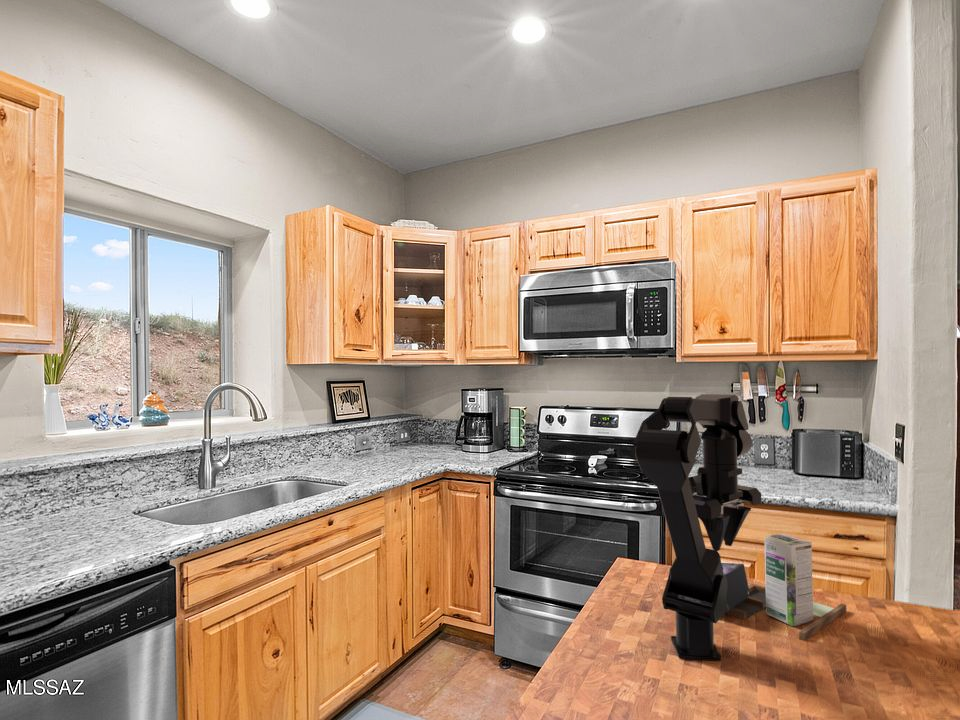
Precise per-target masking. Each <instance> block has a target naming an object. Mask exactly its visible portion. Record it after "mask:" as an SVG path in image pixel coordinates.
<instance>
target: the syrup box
mask: <svg viewBox="0 0 960 720" xmlns="http://www.w3.org/2000/svg"><path fill="white" fill-rule="evenodd" d="M763 542H764V573H765V576H764V577H765V578H764V579H765V586H764V587H766V608H765V615H766V616H769V617H771V618H774V619H776V620H779V621H780V622H782V623H784V624H787V625H788V626H790V627H797V626H799V625H803V624H806V623H810V622H814V615H813V602H814V593H813V592H814V591H813V590H814V587H813V585H814V584H813V583H814V582H813V547H812V541H811V540H805V539H802V538H798V537H795V536H792V535H789V534H786V533H776V534H771V535H768V536H765V537H764V541H763Z"/></svg>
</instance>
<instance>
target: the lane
mask: <svg viewBox="0 0 960 720" xmlns="http://www.w3.org/2000/svg"><path fill="white" fill-rule="evenodd" d="M748 587H749V592H750V596H749V597H748V598H746V599H745V600H744V601H742V602H741V603H739V604H738V605H736V606H735V607H734V608H732V609H731V610H729V611H726V610H725V614H728V615H730V616H734V617H736V618H739V619H742V620H746V619H748V618H749V617H751V616H752V615H755V614H757V613H758V612H761V611H762V610H763V609H766V608H765V607H766V586H761V585H758V584H755V583H751V584H748ZM756 612H757V613H756ZM846 612H847V604H845V603H840V604H838V605H836V606H835V607H831V606H828V605H825V604H822V603H818V602H815V601H813V617H814V616H815V617H817V618H818V617H819V618H818V619H816V620H813V621H812V622H811V623H810V624H809V625H807V626H805V627H804V628H802V629H800V630H799V632H798V633H799V634H798V635H799V640H802V641H804V642H805V641H806V640H808V639H809V638H811V637H812V636H814V635H816V633H818V632H819V631H820V630H822V629H823V628H825V627H826V626H827V625H829V624H830V623H832V622H833V621H835V620H836V619H838V618H839V617H840V616H842V615H843V614H845V613H846ZM754 613H755V614H754Z"/></svg>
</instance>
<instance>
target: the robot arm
mask: <svg viewBox="0 0 960 720" xmlns="http://www.w3.org/2000/svg"><path fill="white" fill-rule="evenodd" d="M669 422H671V423H675V422H676V423H690V424H691V425H690V429H689V432H686V431H685V430H673V429H672V430H671V429H664V428H666V427H667V426H668V425H669ZM697 424H699V425H700V426H701V427H702V429H705V430H704V431H703V432H702V433H701V435H700V433H699V429H698V427H697ZM748 430H749V423H748V419H747V416H746V411H745V408H744V404H743V402H742V401H741V400H740V399H739V396H738V395H736V394H718V393H717V394H716V393H715V394H713V393H712V394H706V393H705V394H704V393H703V394H702V393H701V394H700V395H698V396H696V397H695V398H693V397H692V396H667V397H664V398H663V399H662V400H661V402H660V405H659V406H658V408H657V409H656V410H655V411H654V412H653V413H651V414H650V415H649V416H648V417H646V418H645V419H644V420H643V421H642V422H641V424H640V427H639V429H638V431H637V433H636V435H635V438H634V441H633V444H632V446H633V450H632V451H633V454H634V456H635V458H636V461H637V463H638V466H639V468H640V471H641V473H642V474H643V476H645V477H646V479H648V480H649V481H650V482H652V484H653V485H654V486H656V488H657V491H658V496H659V500H660V503H661V507H662V511H663V515H664V518H665V522H666V526H667V529H668V532H669V536H670V541H671V544H672V548H673V552H674V556H675V558H674V560H673V562H672V565H671V566H670V568H669V570H668V571H669V572H668V575H667V580H666V582H665V583H666V584H665V587H664V591H663V594H662V597H661V601H662V602H661V603H662V606H663V609H664V610H669V611H673V612H675V634H676V635H671V636H670V641H671V644H672V645H673V648H674V650H675V652H676V654H677V657H678V658H680V659H690V660H692V659H694V660H706V661H709V660H710V661H721V660H722V656H721V653H720V652H719V651H718V648H717V647H716V645H715V642H714V641H715V639H714V638H715V635H714V633H715V632H714V624H717V623H718V622H719V621H720V620H721V619H722V618H723V617H724V616H725V615H726V613H725V610H726V598H727V578H726V576H724V573H723V570H724V568H723V567H722V564H721V563H722V560H721V554H720V553H719V551H721V547H722V544H723V542H724V545H725V546H727V547H728V546H729V547H731V546H733V544H734V541H735V539H736V538H737V535H738V533H739V531H740V530H741V527H742V525H743V524H744V522H745V519H746V518H747V516H748V515H749V513H750V512H751V510H752V508H751V507H749V506H745V505H744V504H745V503H744V502H743V501H747V502H749V503H750V504H751V505H752V506H757V505H761V504H762V493H761V491H760V490H759V489H758V488H757V487H753V486H747V485H746V486H745V485H740V484H738V482H739V479H738V477H739V476H740V475H743V468H742V467H738V457H741V456H743V455H746V454H747V453H749V451H751V449H752V446H753V439H752V437H751V435H750V433H749V432H748ZM701 443H702V453H703V454H702V456H703V457H702V459H703V463H702V465H703V466H699V467H698V468H697V471H696V472H697V473H696V474H697V475H692V476H690V473H691V471H692V469H693V467H694V465H695V464H696V463H697V462H696V461H697V459H696V458H697V455H698V452H699V449H700V446H701ZM695 494H696V495H695ZM700 521H701V522H702V524H703V526H704V529H705V531H706V533H707V537H708V539H709V542H710V544H711V547H712V548H707V547H706V544H705V540H704V536H703V532H702V527H701V523H700ZM678 595H682V596H686V597H689V598H693V599H697V600H701V601H705V602H709V603H712V606H709V605H705V604H701V603H697V602H694V601H690V600H686V599H682V598H678Z"/></svg>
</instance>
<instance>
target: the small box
mask: <svg viewBox="0 0 960 720" xmlns="http://www.w3.org/2000/svg"><path fill="white" fill-rule="evenodd" d="M721 564H722V567H723V568H724V570H723V573H724V576H726V578H727V598H726V611H729V610H731V609H732V608H734V607H735V606H736V605H738V604H739V603H741V602H742V601H744V600H745V599H746V598H748V597H749V596H750V592H749V587H748V586H749V583H748V577H747V574H746V573H747V572H746V568H745V564H744V563H731V562H721ZM678 598H682V599H686V600H690V601H694V602H697V603H701V604H705V605H709V606H712V603H709V602H705V601H701V600H697V599H693V598H689V597H686V596H682V595H678Z"/></svg>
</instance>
